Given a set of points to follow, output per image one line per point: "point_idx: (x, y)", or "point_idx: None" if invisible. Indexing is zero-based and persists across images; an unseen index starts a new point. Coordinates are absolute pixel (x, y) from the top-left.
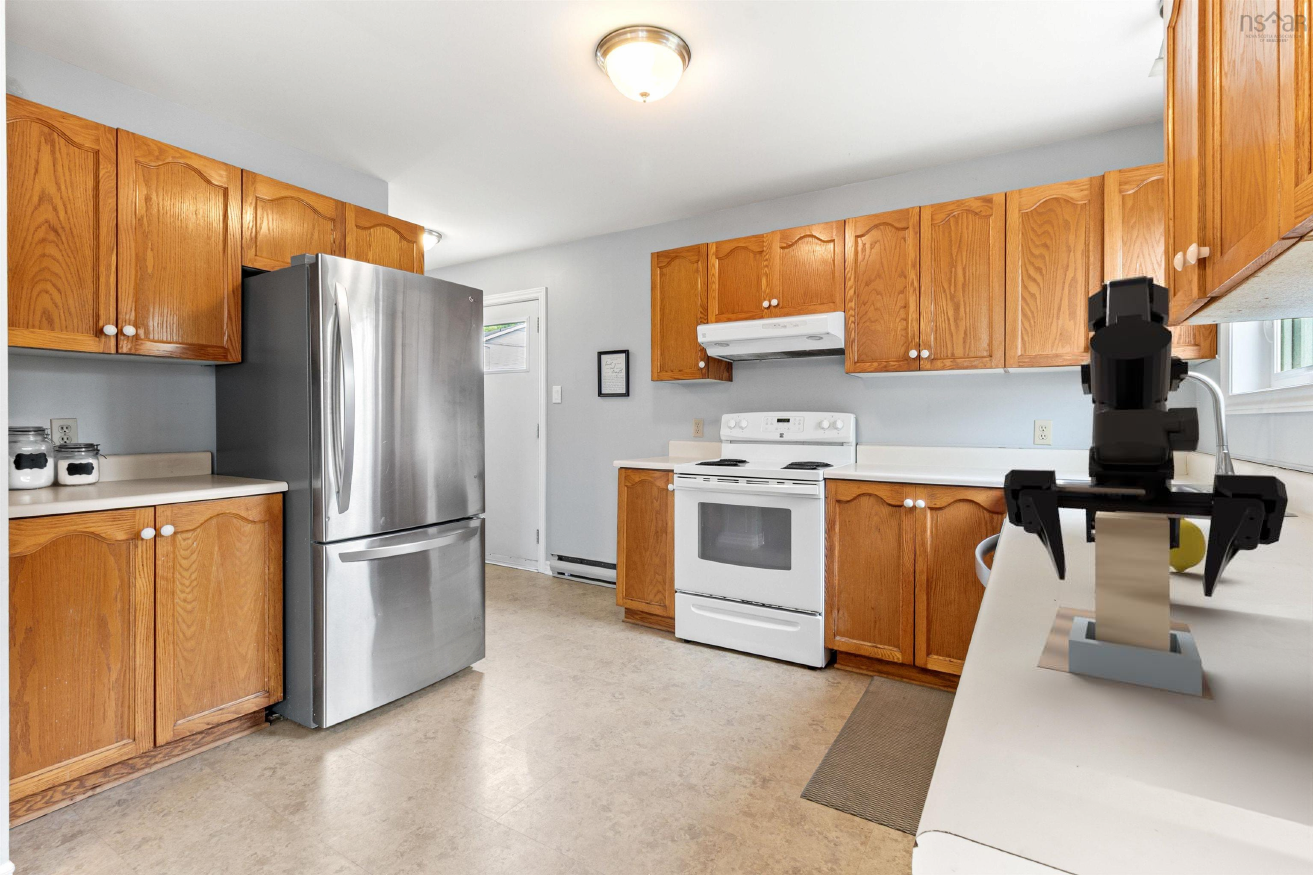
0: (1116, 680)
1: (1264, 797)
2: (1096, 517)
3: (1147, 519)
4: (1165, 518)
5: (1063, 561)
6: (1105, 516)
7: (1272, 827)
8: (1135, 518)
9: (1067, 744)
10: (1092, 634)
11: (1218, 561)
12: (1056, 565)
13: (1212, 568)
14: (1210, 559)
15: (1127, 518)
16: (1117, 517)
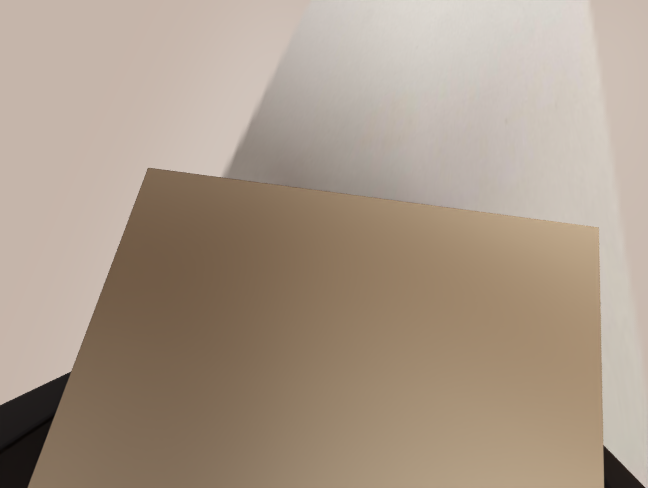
0: None
1: (304, 64)
2: (585, 226)
3: (247, 224)
4: (93, 351)
5: (606, 481)
6: (519, 299)
7: (319, 18)
8: (312, 255)
9: (471, 87)
10: None
11: (27, 400)
12: (624, 468)
13: None
14: (44, 408)
15: (369, 227)
16: (432, 266)
